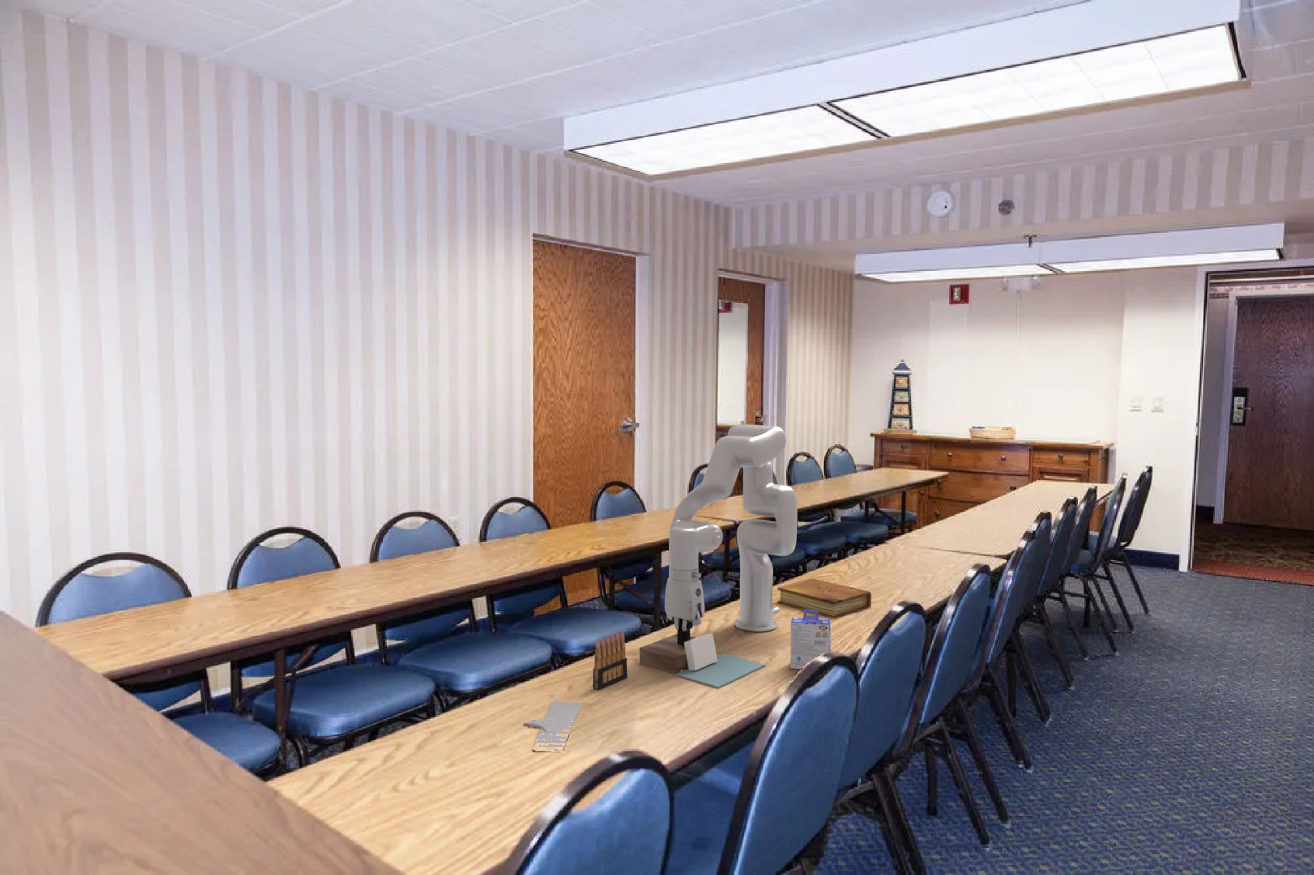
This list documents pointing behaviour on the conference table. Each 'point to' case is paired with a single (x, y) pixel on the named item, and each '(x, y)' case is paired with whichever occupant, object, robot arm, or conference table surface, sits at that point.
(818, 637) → the ink cartridge box
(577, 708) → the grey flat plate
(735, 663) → the mat
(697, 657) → the white rectangular block
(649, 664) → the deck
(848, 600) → the diary
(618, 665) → the ammunition clip
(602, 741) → the conference table surface
